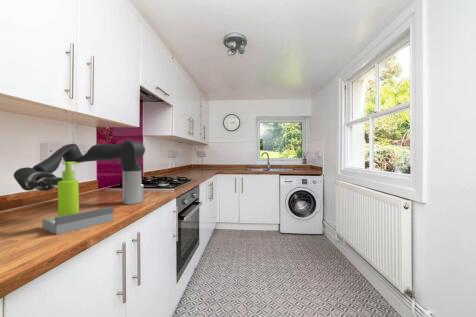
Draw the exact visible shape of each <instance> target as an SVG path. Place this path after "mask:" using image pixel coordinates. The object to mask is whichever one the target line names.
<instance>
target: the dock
mask: <svg viewBox="0 0 476 317" xmlns="http://www.w3.org/2000/svg"><path fill="white" fill-rule="evenodd" d="M113 221H114V206H108V207H101V208H97V209H92V210H87V211H82V212H80V211H79V213H75V214H70V215H65V216H60V217H58V216H55V217H54V216H53V217H49V218H44V219H42V221H41V223H42V224H41V225H42V229H43V230H46V231H47V232H49V233H52V234H54V235H57V236H58V235H61V234H66V233H69V232H73V231H74V232H75V231H77V230H81V229H85V228H89V227H90V228H91V227H93V226H98V225H101V224H106V223H109V222H113Z"/></svg>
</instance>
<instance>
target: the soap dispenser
mask: <svg viewBox="0 0 476 317" xmlns="http://www.w3.org/2000/svg"><path fill="white" fill-rule="evenodd" d="M78 164H79V163H78V162H65V161H63V162H62V165H64V170H63V171H61V172H62V173H61V174H62V176H61V177H62V181H58V186H57V209H58V210H57V211H58V212H57V213H58V214H57V215H58V216H57V217H60V216H65V215H70V214H75V213H79V212H80V208H79V207H80V204H79V202H80V200H79V198H80V197H79V196H80V195H79V194H80V191H79V190H80V189H79V180H77V179H75V171H74V170H73V169H72V165H78ZM74 179H75V180H74Z"/></svg>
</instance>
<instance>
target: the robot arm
mask: <svg viewBox="0 0 476 317" xmlns="http://www.w3.org/2000/svg"><path fill="white" fill-rule="evenodd" d="M61 147H62V148H61ZM61 147H59V148H60V149H59V148H58V149H57V150H55V152H53V153H52V154H51V155H50V156H48V157H47V158H45V159H44V160H43V161H41V162H39V163H36V164H35V165H34V166H32V167H27V166H26V167H20V168H18V169H17V170H16V171H14V173H13V178H14V179H15V181H16V182H17V184H18V185H19V186H20V187H21V189H22V190H24V191H28V192H29V191H33V190H37V191H42V192H44V191H45V192H46V191H47V192H49V191H51V190H53V189H55V187H58V181H62V176H59V177H58V176H56V175H55V174H54V173H55V172H56V170H58V169H59V167H60V165H61V163H62V159H63V162H78V164H79V163H87V162H104V161H112V160H117V159H120V165H121V168H122V204H124V205H135V204H140V203H142V202H144V184H142V183H143V182H142V180H143V179H142V170H143V169H142V165H141V164H140V163H138V161H137V159H139V158H141V157H143V156H144V154H145V151H146V147H145V145H144V144H143V143H142V142H139V141H133V140H125V141H124V142H122V144H116V143H115V144H114V143H113V144H111V143H110V144H109V143H104V144H103V143H102V144H100V143H99V144H94V145H92V146H90V148H89V149H88V150H87V151H86V152H85V153H84V154H82V152H81V150H80V148H79V146H78V145H77V144H76V143H69V144H65V145H63V146H61ZM62 157H63V158H62ZM74 180H76V179H75V178H74Z"/></svg>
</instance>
